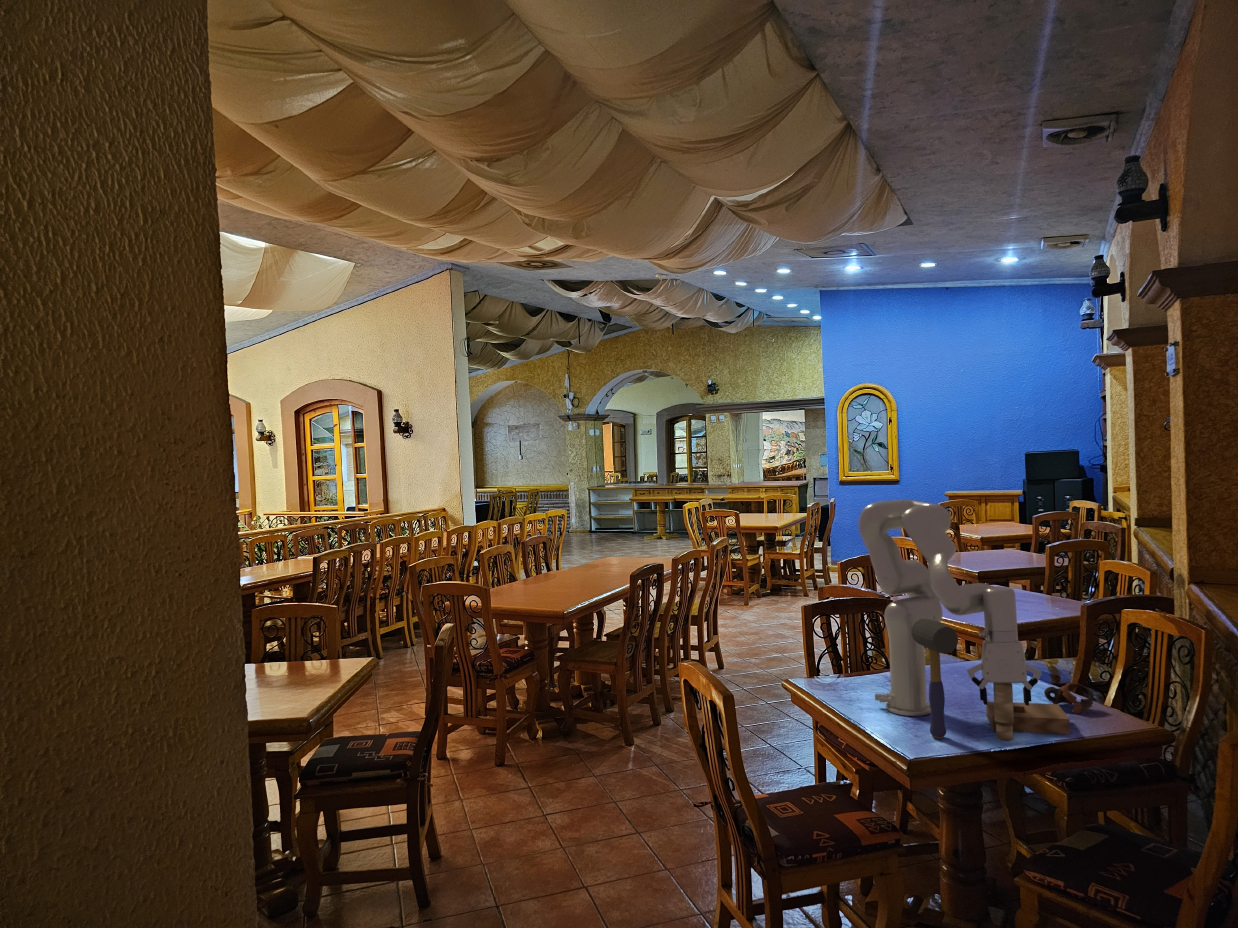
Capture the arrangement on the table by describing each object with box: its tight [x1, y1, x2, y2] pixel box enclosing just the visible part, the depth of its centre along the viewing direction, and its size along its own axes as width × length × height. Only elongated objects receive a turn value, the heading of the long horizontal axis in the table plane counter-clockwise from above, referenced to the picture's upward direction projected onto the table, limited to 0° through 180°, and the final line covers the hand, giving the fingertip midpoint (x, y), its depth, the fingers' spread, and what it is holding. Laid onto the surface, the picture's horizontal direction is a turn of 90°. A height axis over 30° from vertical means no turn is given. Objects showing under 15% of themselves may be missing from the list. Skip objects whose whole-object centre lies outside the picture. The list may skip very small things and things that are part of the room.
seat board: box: [985, 700, 1071, 735], centre depth 222 cm, size 18×13×4 cm
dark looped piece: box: [1043, 682, 1094, 715], centre depth 233 cm, size 12×10×8 cm
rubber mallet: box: [911, 619, 959, 740], centre depth 215 cm, size 12×8×30 cm, turn 8°
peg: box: [992, 683, 1014, 742], centre depth 212 cm, size 5×5×14 cm
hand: (1005, 703), depth 212 cm, fingers open, 9 cm apart
